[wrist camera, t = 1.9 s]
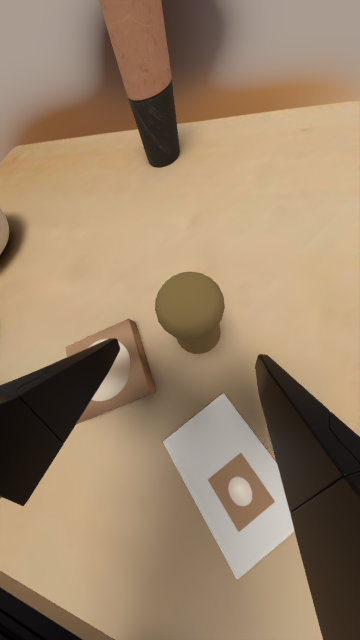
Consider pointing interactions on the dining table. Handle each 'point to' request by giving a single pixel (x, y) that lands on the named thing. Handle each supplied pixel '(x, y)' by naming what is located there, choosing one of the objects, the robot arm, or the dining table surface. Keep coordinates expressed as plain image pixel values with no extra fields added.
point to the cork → (191, 310)
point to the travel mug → (145, 73)
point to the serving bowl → (3, 231)
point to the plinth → (118, 370)
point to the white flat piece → (232, 483)
